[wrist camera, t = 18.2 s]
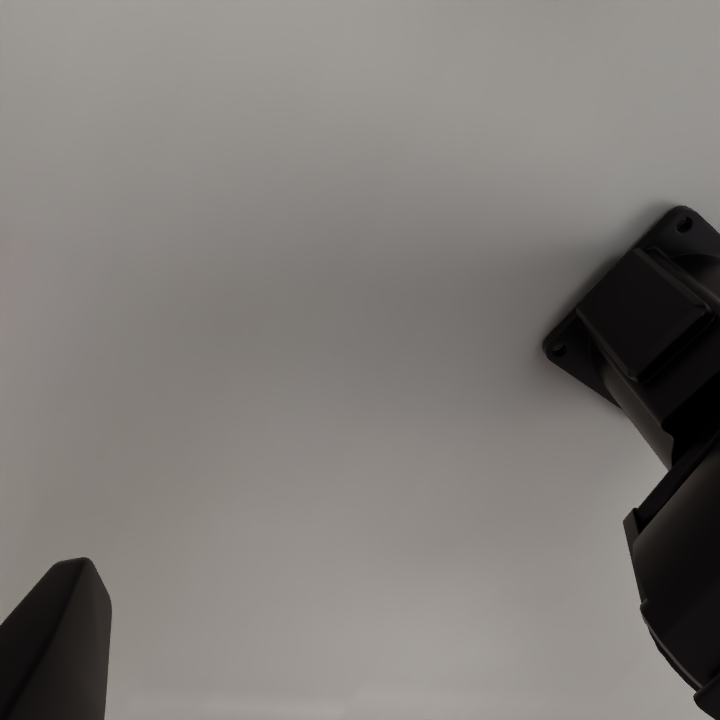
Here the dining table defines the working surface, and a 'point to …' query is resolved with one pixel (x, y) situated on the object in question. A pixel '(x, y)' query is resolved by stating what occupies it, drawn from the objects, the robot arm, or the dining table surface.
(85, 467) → the dining table surface
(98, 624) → the robot arm
